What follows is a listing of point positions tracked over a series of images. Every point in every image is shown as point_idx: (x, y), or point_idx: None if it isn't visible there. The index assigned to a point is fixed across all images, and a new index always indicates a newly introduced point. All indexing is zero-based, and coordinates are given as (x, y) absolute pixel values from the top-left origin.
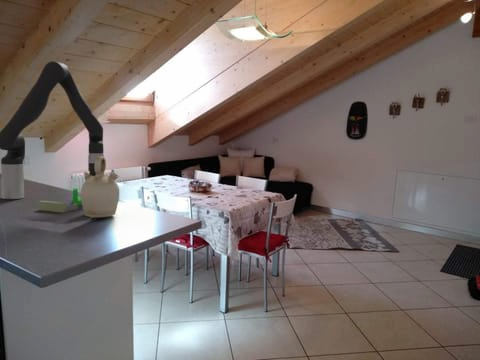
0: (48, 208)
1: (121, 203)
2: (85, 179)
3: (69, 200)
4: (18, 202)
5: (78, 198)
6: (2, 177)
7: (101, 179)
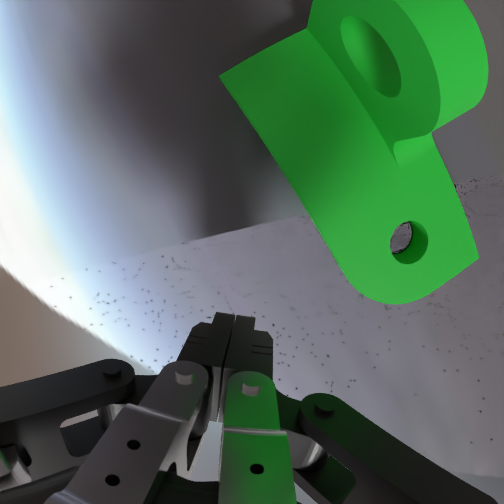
0: None
1: (13, 264)
2: (479, 493)
3: (495, 252)
4: None
5: (413, 206)
6: None
7: None
